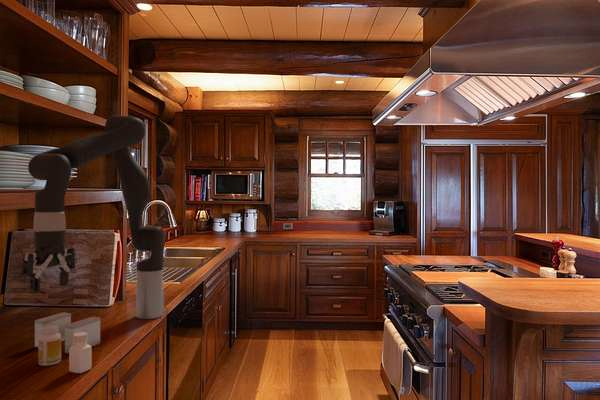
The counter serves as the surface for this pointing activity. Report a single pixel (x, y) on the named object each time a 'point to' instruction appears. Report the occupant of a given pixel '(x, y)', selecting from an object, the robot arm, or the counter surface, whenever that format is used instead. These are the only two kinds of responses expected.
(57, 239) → the robot arm
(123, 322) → the counter surface
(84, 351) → the pepper shaker
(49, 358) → the supplement bottle
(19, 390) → the counter surface
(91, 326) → the housing
